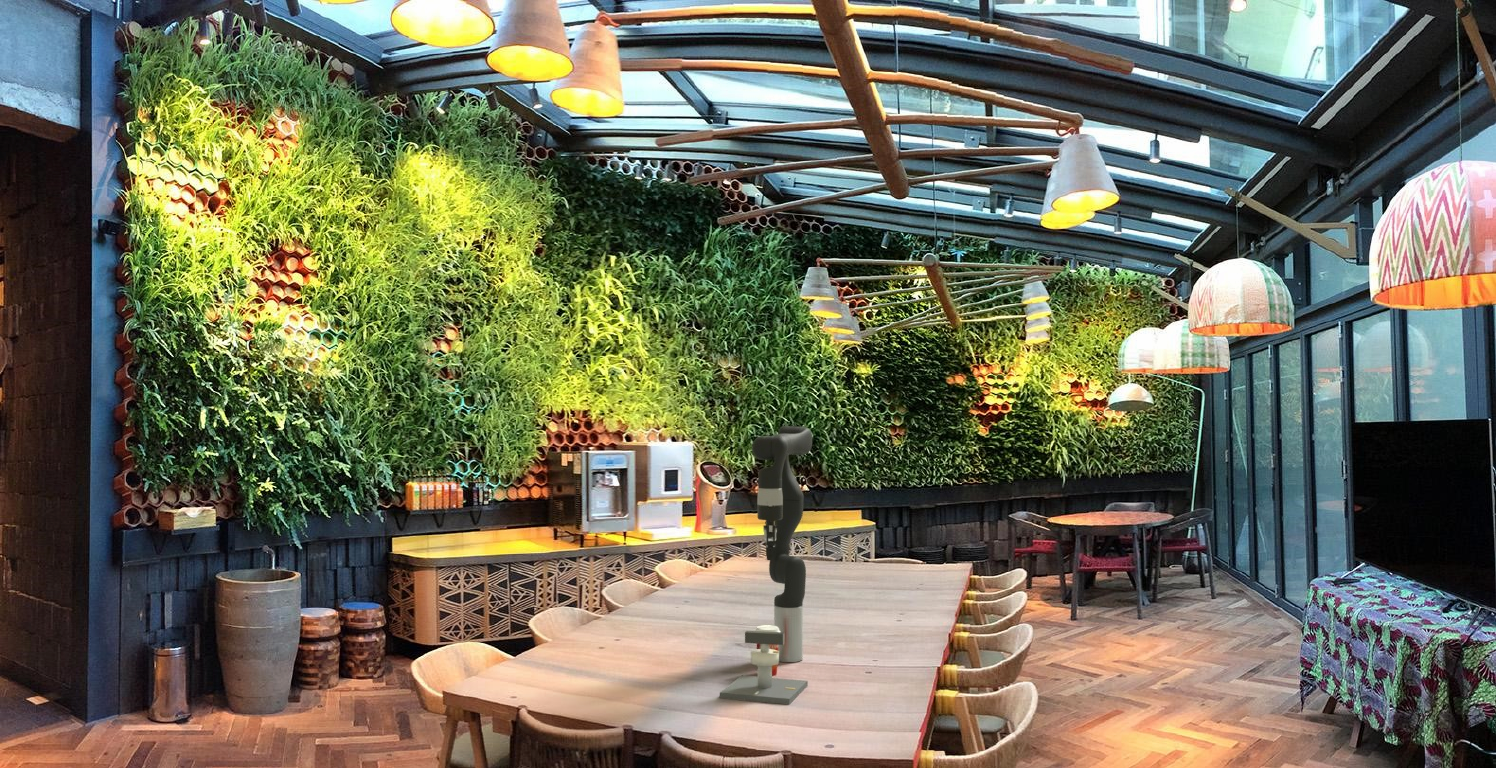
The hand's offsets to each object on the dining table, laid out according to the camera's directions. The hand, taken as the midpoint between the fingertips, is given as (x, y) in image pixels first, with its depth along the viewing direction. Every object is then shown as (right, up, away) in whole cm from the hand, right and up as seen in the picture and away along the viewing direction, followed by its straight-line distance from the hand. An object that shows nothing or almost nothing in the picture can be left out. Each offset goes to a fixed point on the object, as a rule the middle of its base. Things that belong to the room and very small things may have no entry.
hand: (770, 558), depth 294 cm
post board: (-2, -36, -14) cm, 38 cm away
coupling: (-2, -27, -13) cm, 30 cm away
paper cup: (0, -37, +7) cm, 37 cm away
